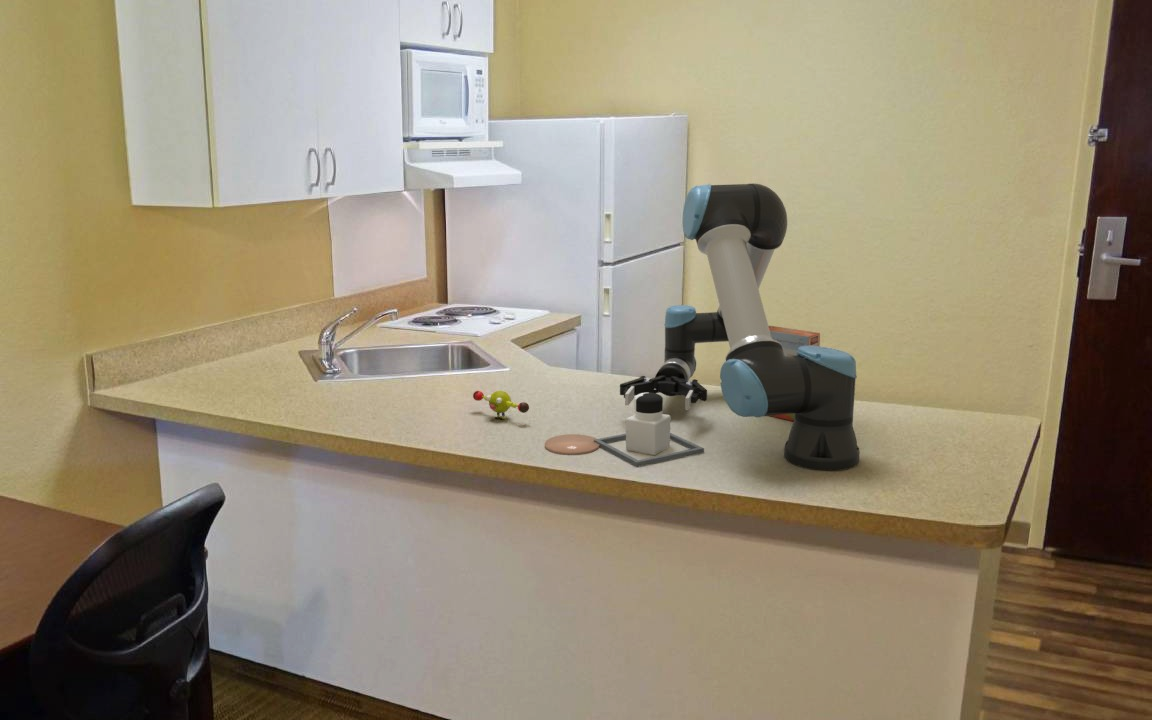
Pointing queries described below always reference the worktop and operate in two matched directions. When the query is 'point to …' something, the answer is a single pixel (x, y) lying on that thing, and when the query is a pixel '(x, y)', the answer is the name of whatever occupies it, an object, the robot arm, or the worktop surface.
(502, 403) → the toy figure
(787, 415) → the cracker box
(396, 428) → the worktop surface
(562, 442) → the coaster
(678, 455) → the gray square frame
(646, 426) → the medicine bottle
